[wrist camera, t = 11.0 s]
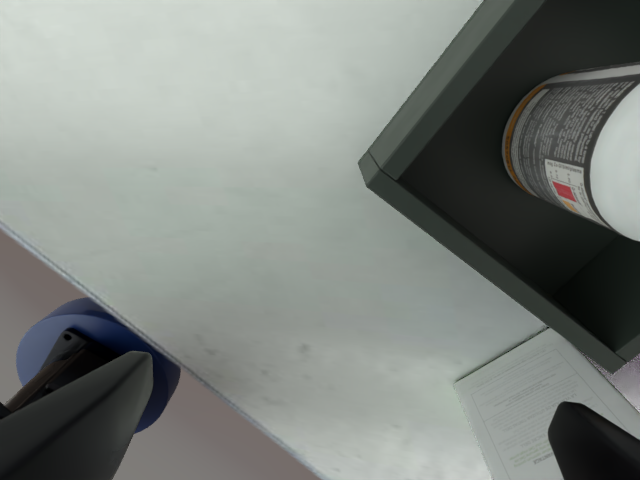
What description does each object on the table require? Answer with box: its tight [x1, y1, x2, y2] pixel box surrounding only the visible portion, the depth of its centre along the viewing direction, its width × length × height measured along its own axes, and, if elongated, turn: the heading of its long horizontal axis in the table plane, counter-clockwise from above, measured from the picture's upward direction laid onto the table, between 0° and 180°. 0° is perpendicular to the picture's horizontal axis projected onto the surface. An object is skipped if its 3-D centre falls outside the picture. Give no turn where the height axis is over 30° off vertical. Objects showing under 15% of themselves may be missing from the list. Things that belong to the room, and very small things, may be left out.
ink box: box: [454, 328, 640, 480], centre depth 17 cm, size 7×4×13 cm, turn 130°
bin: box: [358, 0, 640, 374], centre depth 15 cm, size 14×14×6 cm
